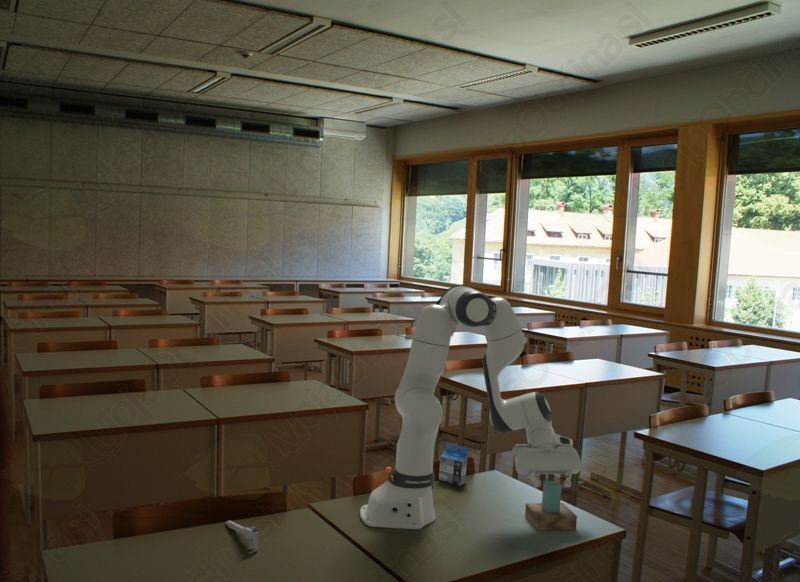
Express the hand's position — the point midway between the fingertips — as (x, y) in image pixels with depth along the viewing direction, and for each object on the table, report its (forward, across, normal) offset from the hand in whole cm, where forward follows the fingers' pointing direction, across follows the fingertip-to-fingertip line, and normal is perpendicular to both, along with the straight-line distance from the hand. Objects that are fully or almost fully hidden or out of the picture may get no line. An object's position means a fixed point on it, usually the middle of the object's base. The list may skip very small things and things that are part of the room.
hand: (553, 486), depth 201 cm
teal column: (+5, 0, +6) cm, 7 cm away
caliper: (+11, -90, +6) cm, 91 cm away
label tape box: (-17, -21, +33) cm, 43 cm away
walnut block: (+8, 0, +8) cm, 11 cm away
